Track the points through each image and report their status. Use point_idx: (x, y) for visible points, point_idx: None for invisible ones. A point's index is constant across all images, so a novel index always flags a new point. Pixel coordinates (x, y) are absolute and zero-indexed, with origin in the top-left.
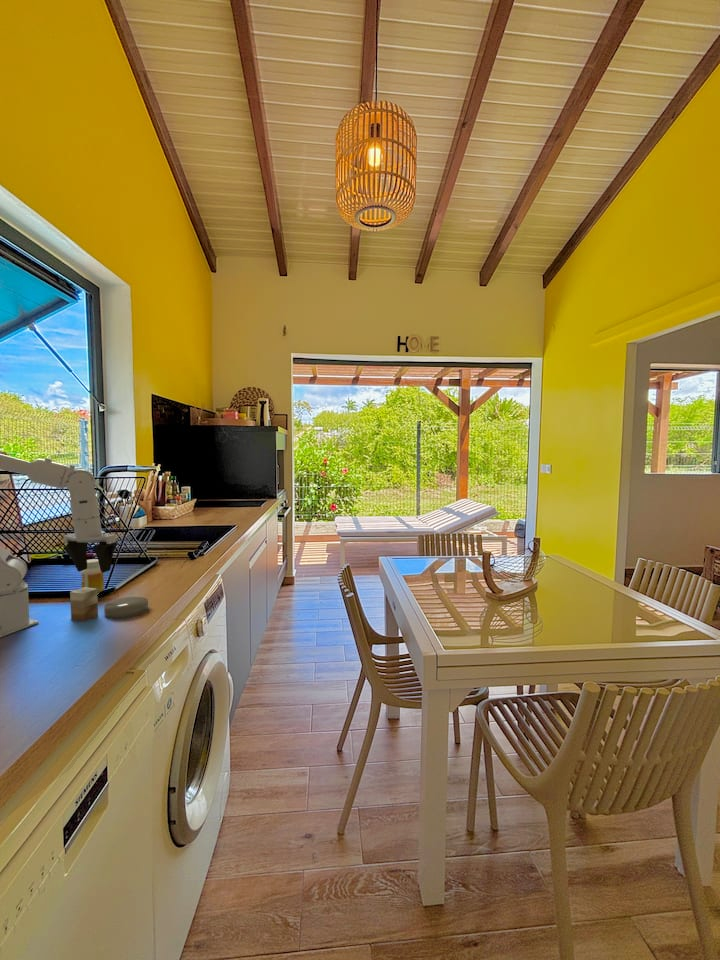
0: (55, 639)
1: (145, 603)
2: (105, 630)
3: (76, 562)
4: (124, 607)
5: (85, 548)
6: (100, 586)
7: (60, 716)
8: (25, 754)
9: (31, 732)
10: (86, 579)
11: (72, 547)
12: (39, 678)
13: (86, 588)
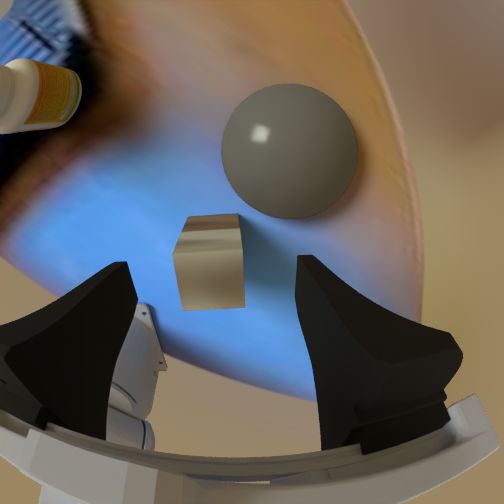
0: (269, 336)
1: (353, 133)
2: (335, 271)
3: (121, 344)
4: (317, 185)
5: (56, 336)
6: (68, 86)
7: None
8: None
9: None
10: (30, 126)
11: (96, 433)
12: None
13: (197, 264)
